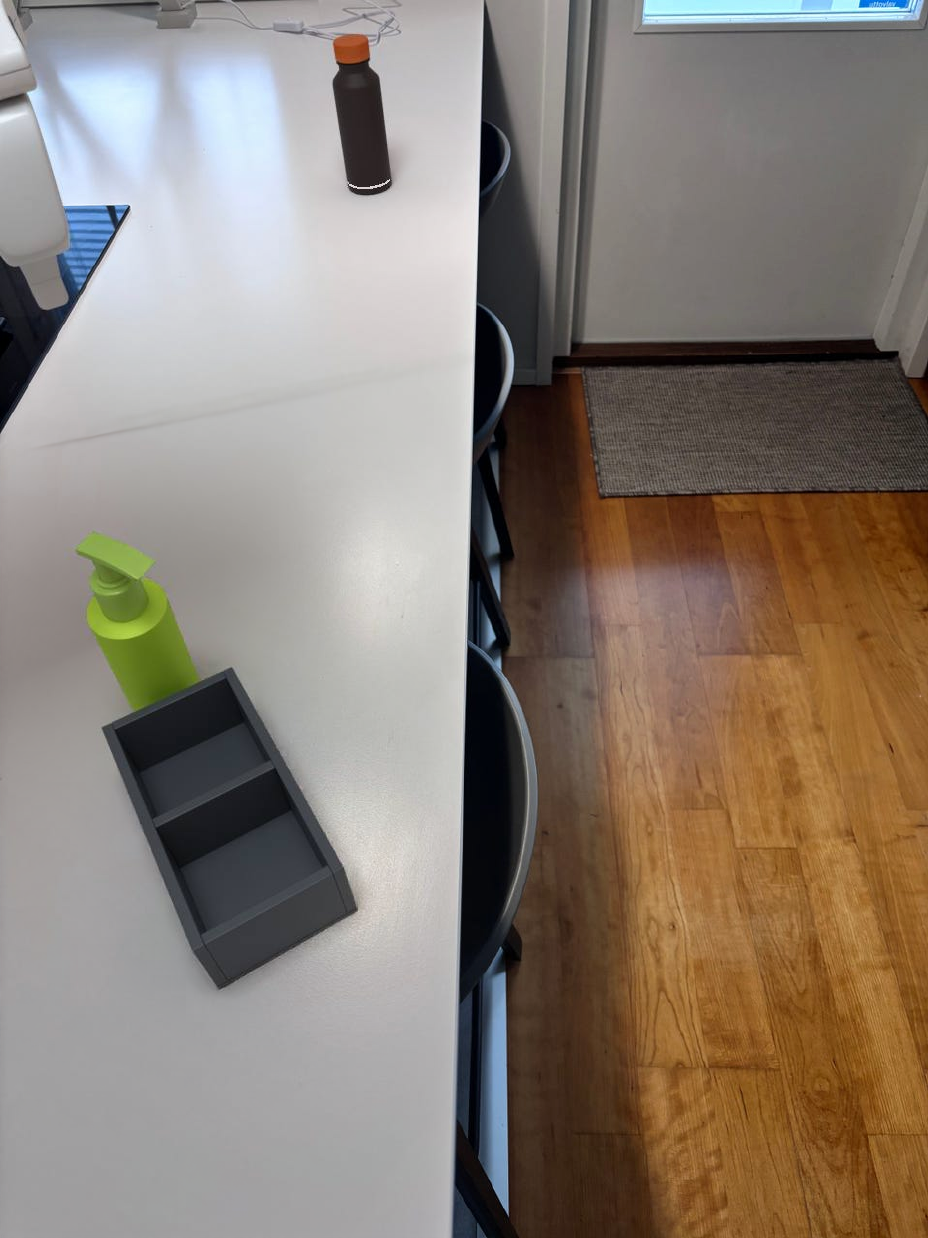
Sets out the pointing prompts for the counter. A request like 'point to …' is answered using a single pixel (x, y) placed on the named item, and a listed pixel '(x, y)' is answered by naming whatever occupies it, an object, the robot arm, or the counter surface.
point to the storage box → (228, 827)
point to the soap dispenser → (135, 623)
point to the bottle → (360, 116)
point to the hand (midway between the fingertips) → (34, 270)
